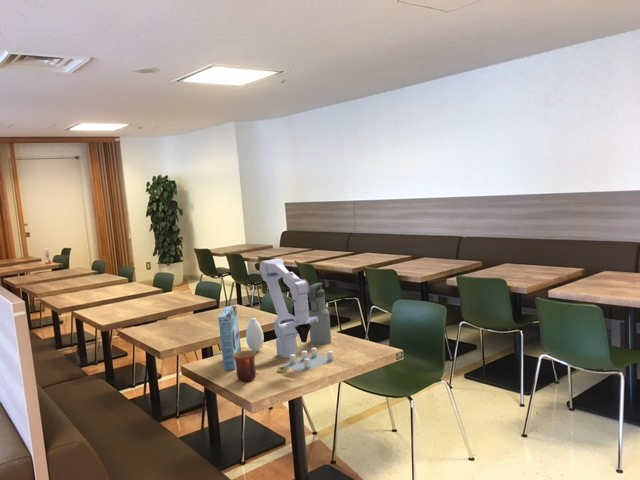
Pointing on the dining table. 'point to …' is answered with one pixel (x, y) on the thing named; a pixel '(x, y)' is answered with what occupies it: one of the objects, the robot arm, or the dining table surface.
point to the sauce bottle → (254, 335)
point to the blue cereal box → (229, 336)
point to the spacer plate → (312, 363)
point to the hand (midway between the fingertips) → (304, 342)
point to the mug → (245, 365)
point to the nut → (283, 369)
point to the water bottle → (319, 316)
